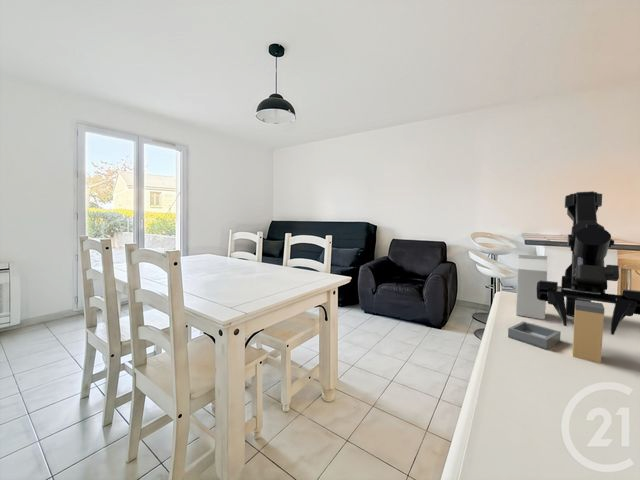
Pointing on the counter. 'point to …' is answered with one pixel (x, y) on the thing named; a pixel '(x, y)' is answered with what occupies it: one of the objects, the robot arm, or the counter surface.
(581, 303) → the plug
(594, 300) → the robot arm
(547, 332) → the socket collar
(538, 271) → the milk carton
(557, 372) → the counter surface
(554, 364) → the counter surface
